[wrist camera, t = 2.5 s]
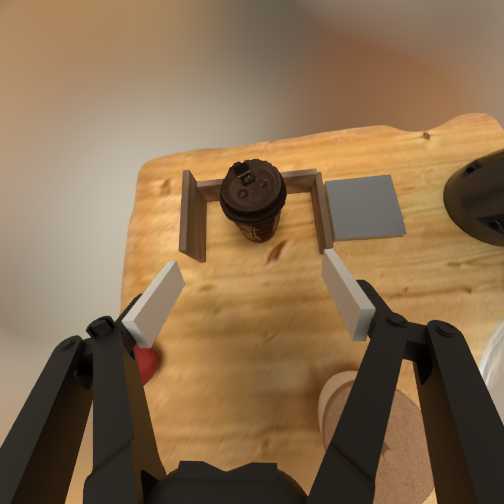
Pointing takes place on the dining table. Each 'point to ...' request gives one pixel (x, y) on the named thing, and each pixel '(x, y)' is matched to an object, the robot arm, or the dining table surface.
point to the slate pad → (363, 208)
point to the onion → (146, 362)
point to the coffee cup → (253, 198)
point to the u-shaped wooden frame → (206, 191)
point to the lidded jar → (386, 443)
